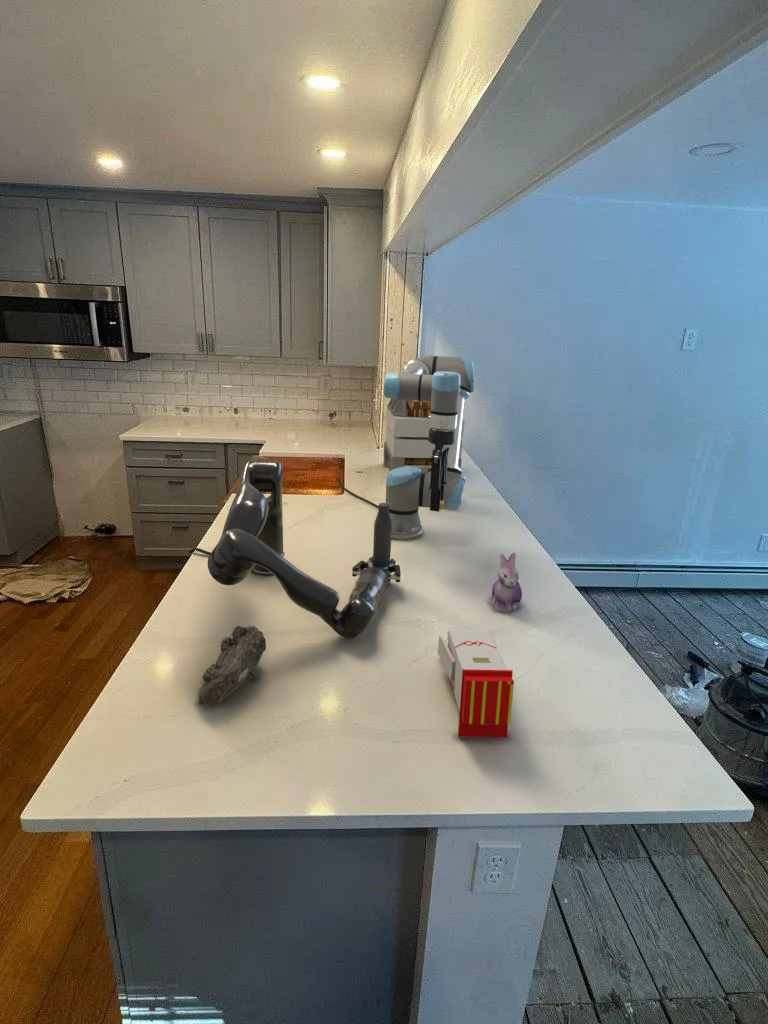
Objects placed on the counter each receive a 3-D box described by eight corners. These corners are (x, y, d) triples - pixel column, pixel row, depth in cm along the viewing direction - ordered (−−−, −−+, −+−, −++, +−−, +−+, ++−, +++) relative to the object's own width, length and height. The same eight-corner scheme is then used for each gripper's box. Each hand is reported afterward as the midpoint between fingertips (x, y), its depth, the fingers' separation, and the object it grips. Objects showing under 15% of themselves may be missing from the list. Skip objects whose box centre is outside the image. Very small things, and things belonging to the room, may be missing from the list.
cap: (441, 511, 163) (441, 504, 162) (427, 508, 164) (428, 502, 164) (445, 506, 167) (445, 500, 166) (431, 504, 168) (432, 498, 167)
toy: (488, 613, 130) (523, 677, 101) (484, 667, 133) (517, 744, 104) (435, 612, 130) (455, 676, 101) (432, 666, 133) (451, 743, 103)
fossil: (217, 628, 129) (265, 598, 124) (246, 656, 132) (293, 628, 127) (177, 698, 110) (231, 666, 105) (211, 729, 113) (266, 699, 108)
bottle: (369, 580, 165) (372, 502, 157) (384, 578, 167) (388, 500, 159) (375, 588, 161) (379, 508, 152) (391, 585, 163) (395, 506, 154)
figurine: (503, 617, 148) (510, 564, 143) (480, 599, 156) (486, 549, 151) (531, 609, 152) (539, 558, 147) (507, 593, 161) (513, 544, 156)
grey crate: (382, 463, 289) (386, 382, 275) (445, 464, 293) (451, 384, 279) (390, 482, 257) (394, 392, 243) (460, 483, 261) (468, 394, 247)
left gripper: (343, 595, 151) (358, 568, 167) (396, 602, 148) (406, 575, 164) (344, 570, 148) (359, 545, 164) (397, 577, 146) (408, 551, 162)
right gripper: (435, 422, 166) (430, 498, 174) (422, 433, 151) (416, 515, 159) (461, 425, 164) (454, 501, 172) (450, 435, 149) (443, 519, 157)
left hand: (383, 560), depth 164 cm, fingers closed on bottle, 5 cm apart
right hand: (436, 508), depth 165 cm, fingers closed on cap, 4 cm apart
